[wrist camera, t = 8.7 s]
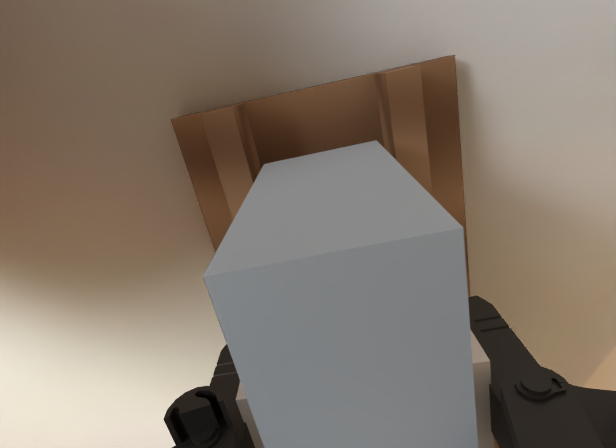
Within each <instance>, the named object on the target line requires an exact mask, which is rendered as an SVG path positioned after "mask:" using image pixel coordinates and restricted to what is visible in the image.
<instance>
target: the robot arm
mask: <svg viewBox="0 0 616 448" xmlns="http://www.w3.org/2000/svg"><path fill="white" fill-rule="evenodd" d="M468 304H469V318H470V333H471V348H472V362H473V377H474V392H475V406H476V421H477V436H478V448H494V438H495V440H496V442H497V444H498V446H499V448H616V391H609V390H599V389H590V388H583V387H578V386H574V385H571V384H568V382H567V381H566V380H565V379H564V378H563V377H561V376H560V375H558V374H557V373H555V372H554V371H552V370H549V369H547V368H544V367H541V366H540V365H539V364H538V363H537V362H536V360H535V359H534V358H533V356H532V355H531V354H530V353H529V351H528V350H527V349H526V347H525V346H524V345H523V344H522V342H521V341H520V340H519V339H518V337H517V336H516V335H515V333H514V332H513V331H512V330H511V328H509V326H508V324H507V323H506V322H505V321H504V319H503V318H501V315H500V314H499V313H498V312H497V310H496V309H495V308H494V306H493V305H492V304H490V303H489V302H487V301H485V300H484V299H482V298H480V297H478V296H473V297H468ZM213 375H214V377H212V380H211V383H210V386H203V387H197V388H194V389H192V390H190V391H188V392H185V393H184V394H183V395H181V396H180V397H179V398H177V399H176V400H175V401H174V402H173V404H172V405H171V406H170V407H169V408H168V410H167V412H166V414H165V417H164V421H165V423H166V425H167V427H168V429H169V432H170V434H171V436H172V438H173V440H174V442H175V444H176V446H174V447H172V448H264V445H263V442H262V440H261V437H260V434H259V431H258V429H257V426H256V423H255V420H254V418H253V415H252V412H251V409H250V406H249V404H248V401H247V398H246V395H245V393H244V390H243V387H242V384H241V381H240V379H239V376H238V373H237V370H236V368H235V365H234V362H233V359H232V357H231V354H230V351H229V348H228V345H227V344H226V346H225V347H224V348H223V349H222V351H221V353H220V356H219V359H218V362H217V366H216V368H215V371H214V374H213ZM493 436H494V437H493Z"/></svg>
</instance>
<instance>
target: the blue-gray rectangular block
mask: <svg viewBox="0 0 616 448" xmlns="http://www.w3.org/2000/svg"><path fill="white" fill-rule="evenodd" d="M203 279H204V282H205V284H206V287H207V290H208V293H209V296H210V298H211V301H212V304H213V307H214V309H215V312H216V315H217V318H218V320H219V323H220V326H221V329H222V332H223V334H224V337H225V340H226V343H227V345H228V348H229V351H230V354H231V357H232V359H233V362H234V365H235V368H236V370H237V373H238V376H239V379H240V381H241V384H242V387H243V390H244V393H245V395H246V398H247V401H248V404H249V406H250V409H251V412H252V415H253V418H254V420H255V423H256V426H257V429H258V431H259V434H260V437H261V440H262V442H263V445H264V448H478V436H477V421H476V406H475V392H474V377H473V362H472V348H471V333H470V318H469V304H468V289H467V274H466V260H465V245H464V230H463V227H462V226H461V225H460V224H459V223H458V222H457V221H456V220H455V219H454V218H453V217H452V216H451V215H450V214H449V213H448V212H447V211H446V210H445V209H444V208H443V207H442V206H441V205H440V204H439V203H438V202H437V201H436V200H435V199H434V198H433V197H432V196H431V195H430V194H429V193H428V192H427V191H426V190H425V189H424V188H423V187H422V186H421V185H420V184H419V183H418V182H417V181H416V180H415V179H414V178H413V177H412V176H411V175H410V174H409V173H408V172H407V171H406V170H405V169H404V168H403V167H402V166H401V165H400V164H399V162H398V161H397V160H396V159H395V158H394V157H393V156H392V155H391V154H390V153H389V152H388V151H387V150H386V149H385V148H384V147H383V146H382V145H381V144H380V143H379V142H378V141H377V140H375V141H370V142H366V143H361V144H356V145H352V146H347V147H342V148H337V149H333V150H328V151H323V152H319V153H314V154H309V155H304V156H300V157H295V158H290V159H286V160H281V161H276V162H271V163H267V164H264V165H263V167H262V169H261V171H260V172H259V174H258V176H257V178H256V180H255V182H254V183H253V185H252V187H251V189H250V191H249V193H248V194H247V196H246V198H245V200H244V202H243V204H242V205H241V207H240V209H239V211H238V213H237V215H236V216H235V218H234V220H233V222H232V224H231V226H230V227H229V229H228V231H227V233H226V235H225V236H224V238H223V240H222V242H221V244H220V246H219V247H218V249H217V251H216V253H215V255H214V257H213V258H212V260H211V262H210V264H209V266H208V268H207V269H206V271H205V273H204V275H203Z"/></svg>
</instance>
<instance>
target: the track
mask: <svg viewBox="0 0 616 448" xmlns="http://www.w3.org/2000/svg"><path fill="white" fill-rule="evenodd" d="M171 121H172V124H173V127H174V130H175V133H176V136H177V139H178V142H179V145H180V148H181V151H182V154H183V157H184V160H185V163H186V166H187V169H188V172H189V175H190V178H191V181H192V184H193V187H194V190H195V193H196V195H197V198H198V201H199V204H200V207H201V210H202V213H203V216H204V219H205V222H206V225H207V228H208V231H209V234H210V237H211V240H212V243H213V246H214V249H215V252H216V251H217V249H218V247H219V246H220V244H221V242H222V240H223V238H224V236H225V235H226V233H227V231H228V229H229V227H230V226H231V224H232V222H233V220H234V218H235V216H236V215H237V213H238V211H239V209H240V207H241V205H242V204H243V202H244V200H245V198H246V196H247V194H248V193H249V191H250V189H251V187H252V185H253V183H254V182H255V180H256V178H257V176H258V174H259V172H260V171H261V169H262V167H263V165H264V164H267V163H271V162H276V161H281V160H286V159H290V158H295V157H300V156H304V155H309V154H314V153H319V152H323V151H328V150H333V149H337V148H342V147H347V146H352V145H356V144H361V143H366V142H370V141H375V140H377V141H378V142H379V143H380V144H381V145H382V146H383V147H384V148H385V149H386V150H387V151H388V152H389V153H390V154H391V155H392V156H393V157H394V158H395V159H396V160H397V161H398V162H399V164H400V165H401V166H402V167H403V168H404V169H405V170H406V171H407V172H408V173H409V174H410V175H411V176H412V177H413V178H414V179H415V180H416V181H417V182H418V183H419V184H420V185H421V186H422V187H423V188H424V189H425V190H426V191H427V192H428V193H429V194H430V195H431V196H432V197H433V198H434V199H435V200H436V201H437V202H438V203H439V204H440V205H441V206H442V207H443V208H444V209H445V210H446V211H447V212H448V213H449V214H450V215H451V216H452V217H453V218H454V219H455V220H456V221H457V222H458V223H459V224H460V225H461V226H462V227H463V230H464V245H465V260H466V274H467V289H468V297H470V285H469V270H468V254H467V238H466V222H465V207H464V191H463V175H462V159H461V144H460V128H459V112H458V96H457V81H456V65H455V55H453V56H446V57H441V58H437V59H433V60H428V61H424V62H419V63H415V64H411V65H406V66H402V67H397V68H393V69H389V70H384V71H380V72H375V73H371V74H367V75H362V76H358V77H353V78H349V79H345V80H340V81H336V82H331V83H327V84H323V85H318V86H314V87H309V88H305V89H301V90H296V91H292V92H287V93H283V94H278V95H274V96H270V97H265V98H261V99H256V100H252V101H248V102H243V103H239V104H234V105H230V106H226V107H221V108H217V109H212V110H208V111H204V112H199V113H195V114H190V115H186V116H182V117H178V118H174V119H171ZM493 437H494V436H493ZM494 448H499V446H498V444H497V442H496V440H495V438H494Z"/></svg>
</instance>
